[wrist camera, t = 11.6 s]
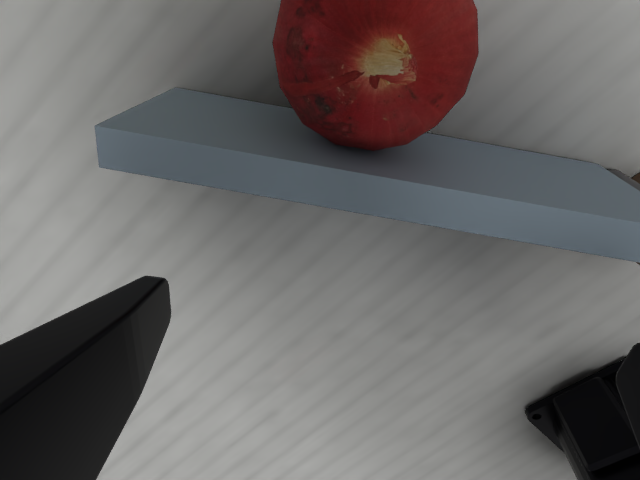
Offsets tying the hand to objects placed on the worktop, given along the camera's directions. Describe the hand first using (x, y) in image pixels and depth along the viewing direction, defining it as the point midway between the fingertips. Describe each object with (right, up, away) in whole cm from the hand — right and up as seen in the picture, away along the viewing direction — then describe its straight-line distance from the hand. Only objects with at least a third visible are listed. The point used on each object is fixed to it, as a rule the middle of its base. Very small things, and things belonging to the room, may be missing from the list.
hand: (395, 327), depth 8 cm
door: (+2, +6, +9) cm, 11 cm away
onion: (0, +9, +8) cm, 12 cm away
